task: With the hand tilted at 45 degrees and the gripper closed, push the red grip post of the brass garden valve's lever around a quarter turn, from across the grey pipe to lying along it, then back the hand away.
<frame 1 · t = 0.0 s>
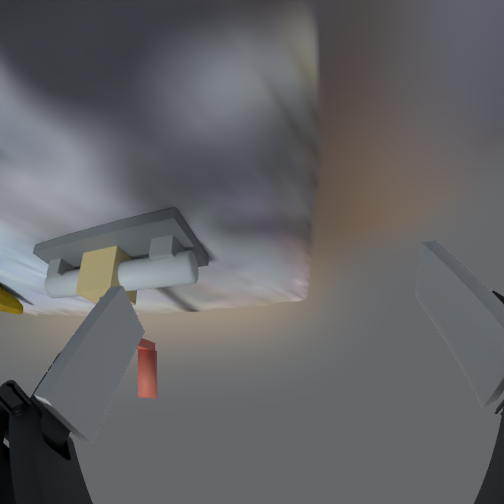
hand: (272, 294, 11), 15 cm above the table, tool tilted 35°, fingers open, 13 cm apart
valve base: (113, 250, 36), on the table
lever: (126, 365, 34), point 16 cm above the table, hinge at 0.0°
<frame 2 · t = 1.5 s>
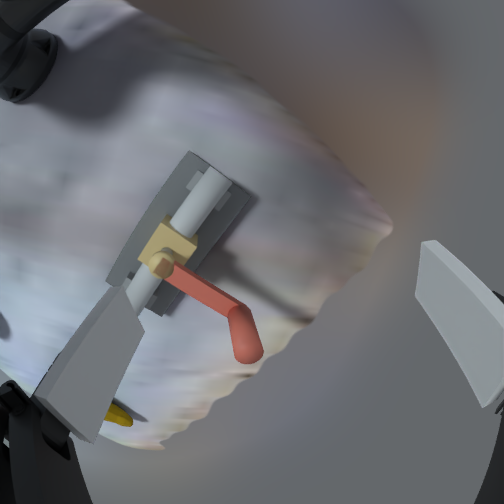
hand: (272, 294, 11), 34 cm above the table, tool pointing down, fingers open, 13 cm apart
valve base: (172, 238, 43), on the table
lever: (201, 305, 30), point 16 cm above the table, hinge at 0.0°
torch: (90, 392, 52), on the table
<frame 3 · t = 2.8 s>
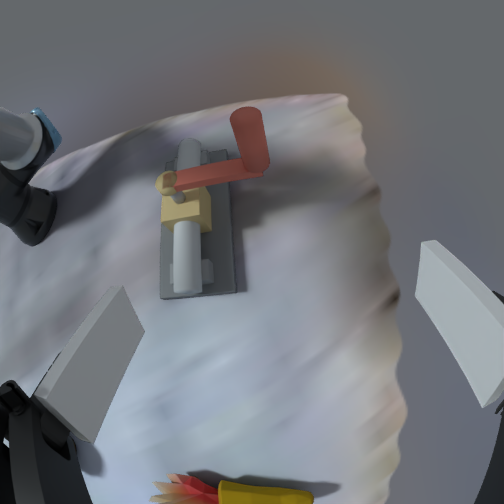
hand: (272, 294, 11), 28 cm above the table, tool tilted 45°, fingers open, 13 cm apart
valve base: (196, 220, 45), on the table
lever: (201, 155, 30), point 16 cm above the table, hinge at 0.0°
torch: (233, 492, 30), on the table
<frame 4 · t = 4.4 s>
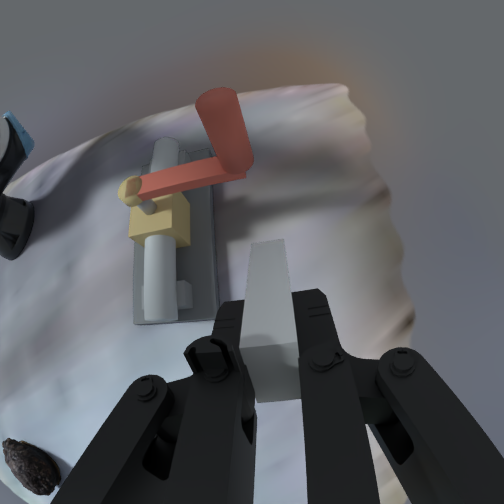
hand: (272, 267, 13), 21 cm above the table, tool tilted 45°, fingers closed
valve base: (174, 231, 38), on the table
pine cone: (40, 462, 28), on the table
lever: (166, 154, 23), point 16 cm above the table, hinge at 0.0°
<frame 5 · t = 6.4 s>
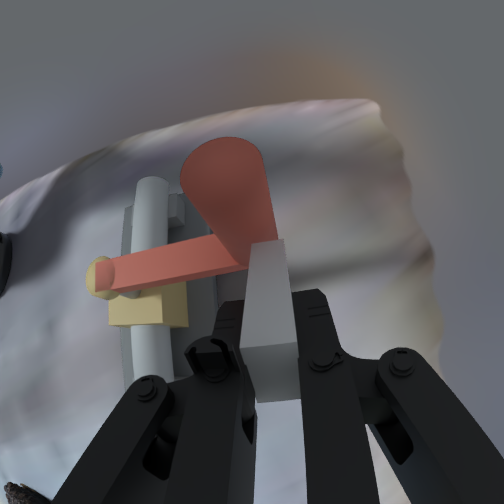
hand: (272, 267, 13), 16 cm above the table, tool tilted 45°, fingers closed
valve base: (168, 302, 30), on the table
lever: (141, 245, 15), point 16 cm above the table, hinge at 3.2°, touching gripper
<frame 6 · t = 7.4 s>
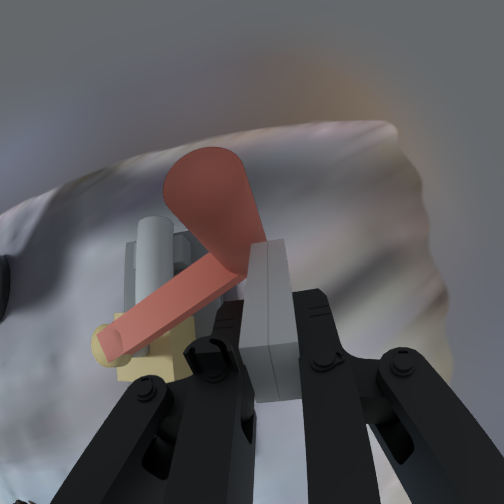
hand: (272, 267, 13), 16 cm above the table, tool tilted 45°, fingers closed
valve base: (176, 347, 28), on the table
lever: (140, 293, 14), point 16 cm above the table, hinge at 27.8°, touching gripper
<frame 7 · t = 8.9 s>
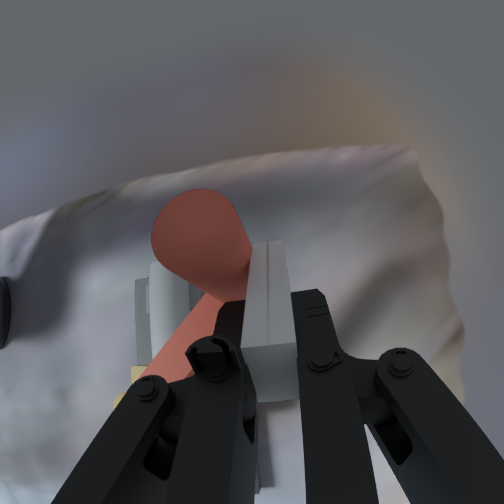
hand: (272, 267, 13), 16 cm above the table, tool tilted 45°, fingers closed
valve base: (194, 390, 26), on the table
lever: (153, 356, 13), point 16 cm above the table, hinge at 45.2°, touching gripper
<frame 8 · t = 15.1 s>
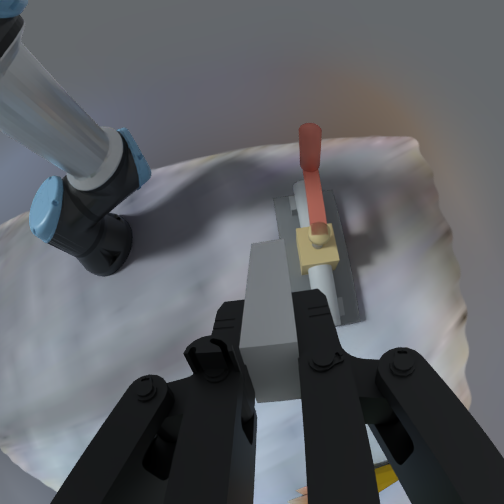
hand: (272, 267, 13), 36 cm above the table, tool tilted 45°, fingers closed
valve base: (315, 258, 50), on the table
lever: (315, 183, 37), point 16 cm above the table, hinge at 85.4°
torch: (350, 484, 34), on the table
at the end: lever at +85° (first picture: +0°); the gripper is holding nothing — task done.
